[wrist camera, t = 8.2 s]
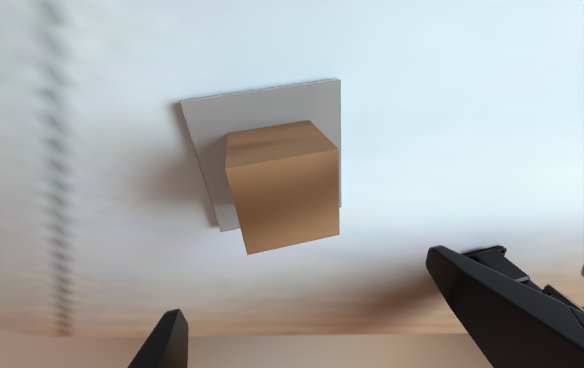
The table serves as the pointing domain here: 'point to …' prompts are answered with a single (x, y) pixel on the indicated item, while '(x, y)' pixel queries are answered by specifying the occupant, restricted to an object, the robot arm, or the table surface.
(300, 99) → the coaster
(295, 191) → the walnut cube
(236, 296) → the table surface
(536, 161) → the table surface
